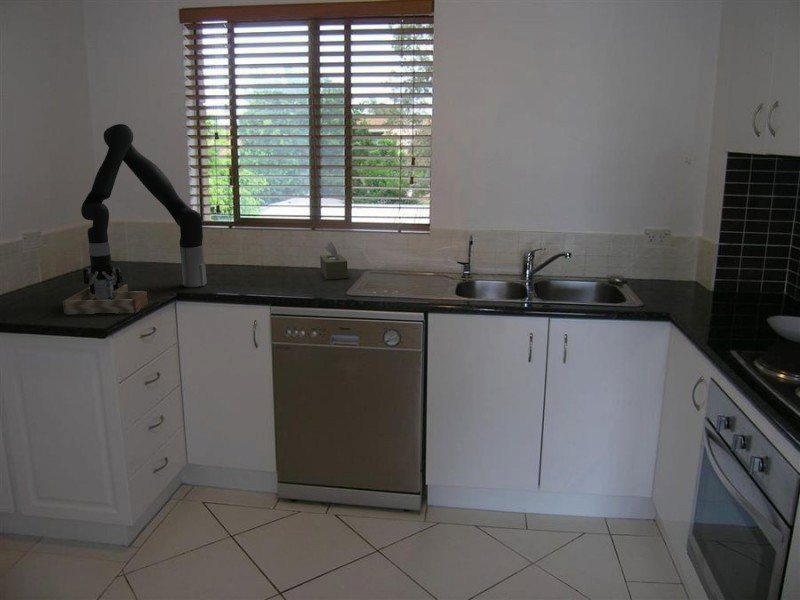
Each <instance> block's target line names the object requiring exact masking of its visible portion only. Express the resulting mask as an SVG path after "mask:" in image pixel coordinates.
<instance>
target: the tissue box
mask: <svg viewBox="0 0 800 600" xmlns="http://www.w3.org/2000/svg"><path fill="white" fill-rule="evenodd" d="M326 245H327V246H326V247H324V249H325V250H326V251H327V252H328V253H330V254H321V255H319V261H320V262H319V264H320V272H321V274H322V275H323V277H324V278H325V280H339V279H341V280H342V279H348V277H349V274H348V261H347V260H346V259H345V258H344V257H343V255H341V254H340V253H339V254H338V252H337V249H336V248H335V246H334V244H333V242H332V241H329V243H327V244H326Z"/></svg>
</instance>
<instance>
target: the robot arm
mask: <svg viewBox="0 0 800 600" xmlns="http://www.w3.org/2000/svg"><path fill="white" fill-rule="evenodd" d="M103 140H104V143H105V144H106V146H107V147H108V149H107V152H106V155H105V157H104V159H103V160H102V161H103V162H102V163H101V165H100V166H99V169H98V170H97V172H96V175H95V178H94V181H93V184H92V187H91V190H90V191H89V193H88V194H87V196H86V197H85V199H84V201H83V202H82V205H81V208H80V213H81V216H82V218H83V219H85V220H87V221H92V226H91V227H89V228H88V229H87V239H88V254H89V261H90V268H89V267H85V268H84V269H83V270H82V275H83V277H82V278H83V284H85V285H88V286H89V287H90V292H91V293H92V294H96V293H95V286H94V282H95V281H97V280H98V279H108V280H109V281H111V282H112V283H113V290H114V291H115V290H117V289H118V288H119V284H121V283H122V282H124V281H123V275H122V268H121V266H120V267H119V266H118V267H115V268H114V267H113V265H112V263H113V262H112V256H111V255H112V254H111V246H110V242H109V236H108V228H109V221H110V211H109V208H108V207H107V206H106V204H104V203H103V202H104V201H105V200H107V199H109V198H111V195H112V192H113V189H114V186H115V183H116V179H117V177H118V173H119V171H120V168H121V166H122V163H123V162H124V163H125V165H127V167H128V168H129V169H130V170H131V172H132V173H133V174H134V175H135V176H136V178H137V179H138V180H139V181H140V183H141V184H143V186H144V187H145V188H146V190H147V191H148V192H149V193H150V194H151V195H152V196H153V197H154V198H155V200H157V201H159V203H160V204H161V205H162V206H163V207H165V209H166V211H167V212H168V213H169V214H170V216H171V217H172V218H173V220H174V222H175V223H176V224H177V226H178V227H179V229H180V239H179V252H180V263H181V273H182V283H183V287H184V288H198V287H199V286H200V287H205V285H207V283H208V282H207V281H208V280H207V271H206V269H207V268H206V262H205V260H204V251H203V239H204V231H203V220H202V216H201V214H200V213H199V211H197V210H195V209H192V208H191V207H190V206H188V205H187V204H186V203H185V202H184V201H183V200H182V198H181V197H180V196H179V194H178V193H177V191H176V190H175V188H174V185H173V184H172V182H171V181H170V180H169V178H168V177H167V176H166V175H165V173H164V172H163V170H161V168H160V167H159V166H157V165H156V164H155V163H153V161H151V160H150V159H148V158H147V157H146V156H144V155H143V154H141V152H139V150H138V149H136V147H135V146H134V145H133V142H134V132H133V130H132V129H131V127H130V126H129V125H126V124H124V123H117V124H113V125H112V126H109V127H108V128H106V129H105V131H103ZM113 273H114V274H115V275H116V276H115V275H113ZM90 274H92V277H91V278H90Z"/></svg>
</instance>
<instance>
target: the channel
mask: <svg viewBox="0 0 800 600" xmlns="http://www.w3.org/2000/svg"><path fill="white" fill-rule="evenodd" d="M147 292H148V291H145V290H139V291H138V290H137V291H136V290H134V291H133V290H132V291H129V288H128V284H127V283H125V284H123V285H122V286H120V287H118V289H117V290H115V291H113V292H112V296H113V299H112V300H96V294H92V293H91V292H90V286H88V287H86V288H84V289H82V290H81V291H79V292H77V293H75V294H73V295H71V296H70V297H68V298H65V299H64V300H63V301H62V306H63V307H62V308H63V315H64V314H66V315H96V314H95V313H115V314H135V313H138V312H140V311H141V310H142V309H143V308H145V307H146V306H147V305H148V304H149V303H148V302H149V301H148V293H147ZM146 304H147V305H146ZM145 305H146V306H145ZM144 306H145V307H144ZM141 308H142V309H141ZM140 309H141V310H140ZM119 312H120V313H119ZM134 312H135V313H134Z"/></svg>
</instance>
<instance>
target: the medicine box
mask: <svg viewBox="0 0 800 600" xmlns="http://www.w3.org/2000/svg"><path fill="white" fill-rule="evenodd" d="M113 285H114V284H113V283H112V282H111V281H109V280H108V279H97V280H96V281H95V282H94V286H95V293H96V297H95V300H111V299H112V300H113V296H112V292H113V291H114V290H113Z"/></svg>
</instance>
